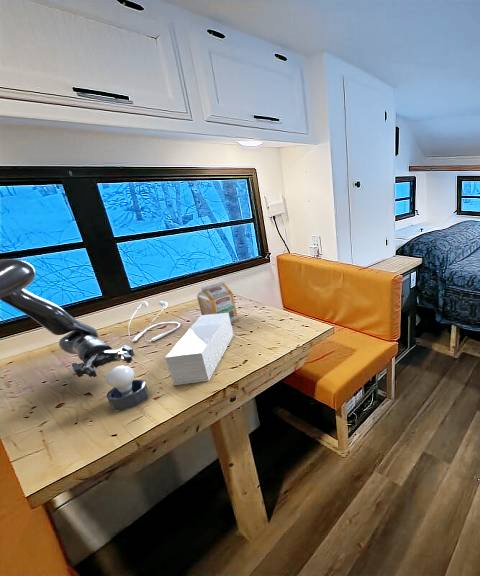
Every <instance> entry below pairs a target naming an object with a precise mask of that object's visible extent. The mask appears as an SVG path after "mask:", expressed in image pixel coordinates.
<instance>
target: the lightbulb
mask: <svg viewBox="0 0 480 576" xmlns="http://www.w3.org/2000/svg"><path fill="white" fill-rule="evenodd" d="M135 376H136V373H135V370H134V369H133V368H132V367H131V366H128V365H118V366H117V365H116V366H114V367H113V368H112V369H110V370H109V371H108V373H107V375H106V383H107V385H109V386H110V387H112V388H116V389H117V390H118V391H119V392H121V395H122V397H125V396H128V395H130V394H132V393H133V391H132V382H133V380H135Z"/></svg>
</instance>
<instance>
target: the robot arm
mask: <svg viewBox="0 0 480 576" xmlns="http://www.w3.org/2000/svg"><path fill="white" fill-rule="evenodd" d="M35 277H36V270H35V268H34V266H33V265H32V264H30V263H29V262H27V261H25V260H22V259H16V258H1V259H0V301H2V302H3V303H6V304H7V305H9V306H11V307H13V308H15V310H18V311H19V312H20V313H23V314H25V315H26V316H28V317H30V318H31V319H32V320H34V321H35V322H36V323H38V324H39V325H40V326H41V327H43V328H44V329H46V331H48V332H49V333H51V334H52V335H55V336H62V335H64V336H62V337H61V338H60V339H59V340H58V346H59V348H60V349H61V350H62V351H63V352H65V353H67V354H71V355H76V356H78V358H79V360H80V361H82V362H81V363H77V362H74V363H72V364H71V367H72V369H73V372H74V373H75V374H76V376H77V377H78V378H81V377H83V376H84V375H86V376H88V377H90V378H92V377H93V378H96V377H98V374H97V373H96V371H97V370H98V369H99V368H100V367H103V366H105V365H107V364H109V363H114V362H120V361H124V362H126V363H127V364H130V363H132V361H133V358H132V357H134V356H135V353H134V349H133V348H132V347H130V346H129V345H127V344H122V345H121V348H119V349H116V348H115V349H114V348H112V346H110V345H109V344H107V343H106V342H105V341H103V340H101V339H99V337H100V332H99V331H98V330H97V329H96V328H94V327H92V326H90V325H88V324H85V323H82V322H81V321H79V320H77V319H76V318H74V317H73V316H72V315H71V314H70V313H68V312H67V311H66V310H65V309H63V308H62V307H61V306H59V305H58V304H56V303H54V302H52V301H50V300H47V299H45V298H43V297H40V296H38V295H37V294H34V293H32V292H30V291H28V290H27V289H26V288H27V287H29V286H30V285H31V284H32V283H33V281H34V280H35Z"/></svg>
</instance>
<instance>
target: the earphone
mask: <svg viewBox="0 0 480 576" xmlns="http://www.w3.org/2000/svg"><path fill="white" fill-rule="evenodd" d="M158 305H159V306H162V309H161V311H160V312H159V313H158V314H157V315H156V316H155V318H154V319H153V320H151V322H150V323H149V324H148V326H147V327H146V328H145V329H144V330H143V331H141V332H140V333H138V334H136V335H135V337H133V339H131V334H130V325H131V323H132V320H133V318H134V316H135V315H136V313H137V312H138V311H139V310H140V309H142V307H148V306H149V303H148V302H147V301H144V300H143V301H142V302H141V304H140V305H138V307H137V308H136V310H135V311H134V313H133V314H132V316H131V318H130V320H129V323H128V326H127V332H128V338H129V340H130V342H132V343H133V342H134V343H135V342H137V341H138V340H139V339H140V338H141V337H142V336H143V339H144V341H146V342H152V343H153V342H155V341H157V340H160V339H161V338H163V337H165V336H167V335H168V334H170V333H172V332H175V331H177V329H179V328H180V327H181V323H180V322H178V321H164V322H158V323H155V324H153V325H152V323H153V322H154V321H155V320H156V319H157V318H158V317H159V316H160V314H161V313H162V312H163V311H164V310H166V309H167V308H168V306H169V304H168V302H167V301H163V300H160V301H159V302H158ZM167 324H175V325H177V326H176V327H174V328H173V329H171V330H169V331H166V332H163V333H160V334H159V335H157V336H154V337H152V338H151V339H149V340H147V339H146V333H147V331H148V330H150V329H152V328H154V327H157V326H161V325H167Z"/></svg>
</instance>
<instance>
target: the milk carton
mask: <svg viewBox="0 0 480 576" xmlns="http://www.w3.org/2000/svg"><path fill="white" fill-rule="evenodd" d="M196 298H197V302H198V306H199V309H200V315H209V314H219V313H229V317H230V321H231V324H233V323H236V322H238V321H239V317H238V312H237V308H236V303H235V298H234V293H233V292H232V290H231V288H229V287H228V286H227V285H226V284H225V281H224V280H221V281H219V282H215V283H212V284H209V285H205V286H202V287H200V291H199V292H198V293H197V295H196Z"/></svg>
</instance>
